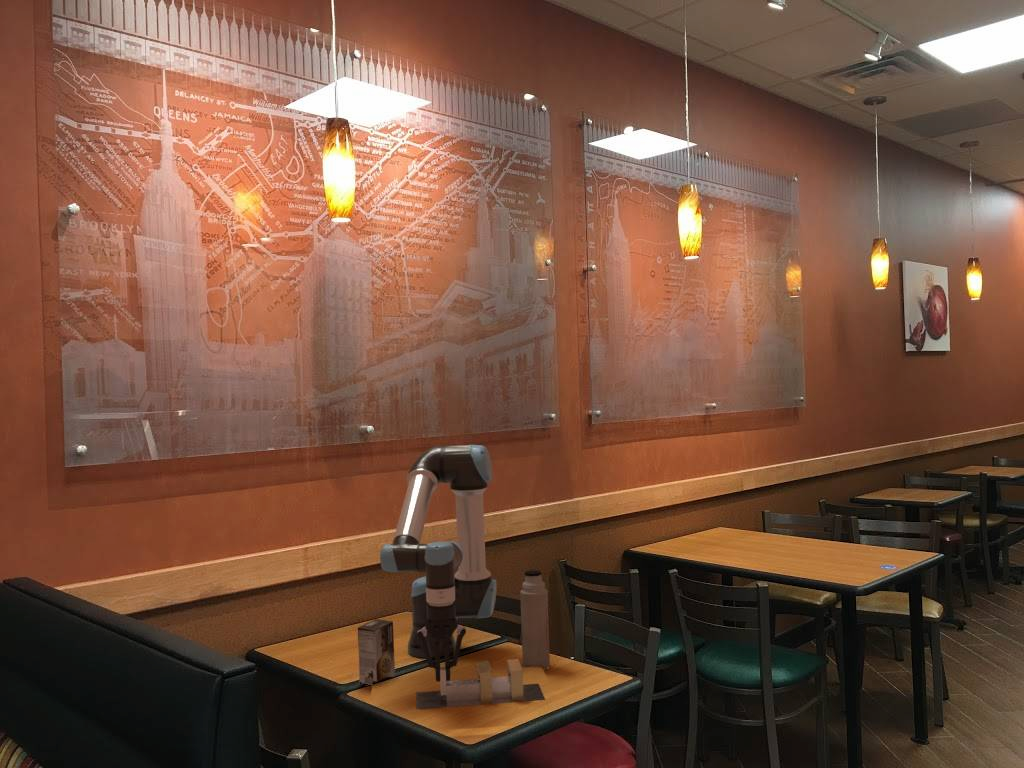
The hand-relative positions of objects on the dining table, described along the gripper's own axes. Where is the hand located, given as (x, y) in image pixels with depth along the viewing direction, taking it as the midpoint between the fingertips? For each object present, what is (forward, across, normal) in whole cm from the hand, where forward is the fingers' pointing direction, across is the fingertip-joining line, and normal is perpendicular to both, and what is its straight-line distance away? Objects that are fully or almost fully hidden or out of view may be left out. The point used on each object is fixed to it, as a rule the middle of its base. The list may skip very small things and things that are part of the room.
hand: (443, 693), depth 217 cm
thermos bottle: (+3, +28, +24) cm, 37 cm away
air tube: (+1, +10, 0) cm, 10 cm away
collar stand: (+3, +9, 0) cm, 10 cm away
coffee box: (+3, -18, +22) cm, 29 cm away
